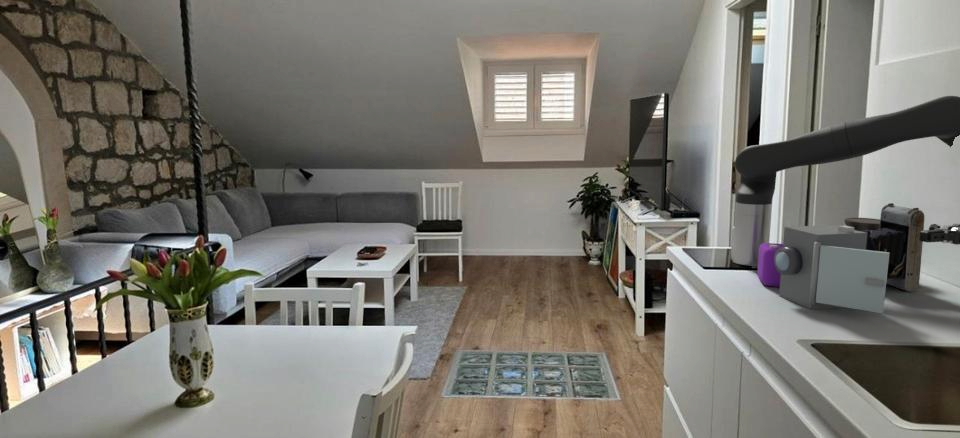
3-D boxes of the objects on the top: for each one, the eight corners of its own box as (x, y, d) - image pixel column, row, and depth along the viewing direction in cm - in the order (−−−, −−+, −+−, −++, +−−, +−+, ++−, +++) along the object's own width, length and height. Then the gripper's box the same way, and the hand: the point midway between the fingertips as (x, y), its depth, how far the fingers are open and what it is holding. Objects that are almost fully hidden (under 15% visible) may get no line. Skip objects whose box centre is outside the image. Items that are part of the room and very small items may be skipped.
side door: (809, 302, 124) (814, 241, 122) (882, 314, 116) (889, 249, 114) (807, 304, 123) (813, 243, 121) (881, 316, 115) (888, 251, 113)
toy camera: (789, 275, 152) (792, 238, 151) (813, 290, 139) (817, 248, 137) (745, 274, 153) (748, 237, 152) (765, 289, 140) (768, 248, 138)
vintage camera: (829, 284, 145) (835, 205, 142) (888, 281, 146) (895, 202, 143) (857, 296, 136) (864, 211, 132) (920, 292, 137) (928, 208, 133)
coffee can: (890, 279, 148) (896, 224, 146) (843, 275, 152) (848, 222, 150) (880, 270, 158) (886, 218, 155) (836, 267, 162) (841, 216, 159)
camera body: (768, 296, 133) (774, 222, 131) (825, 293, 136) (831, 220, 133) (799, 309, 124) (806, 230, 121) (860, 305, 126) (868, 228, 124)
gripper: (964, 210, 127) (895, 213, 124) (1031, 219, 114) (956, 222, 111) (960, 244, 128) (892, 248, 125) (1026, 256, 115) (952, 261, 112)
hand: (923, 236), depth 118 cm, fingers closed
